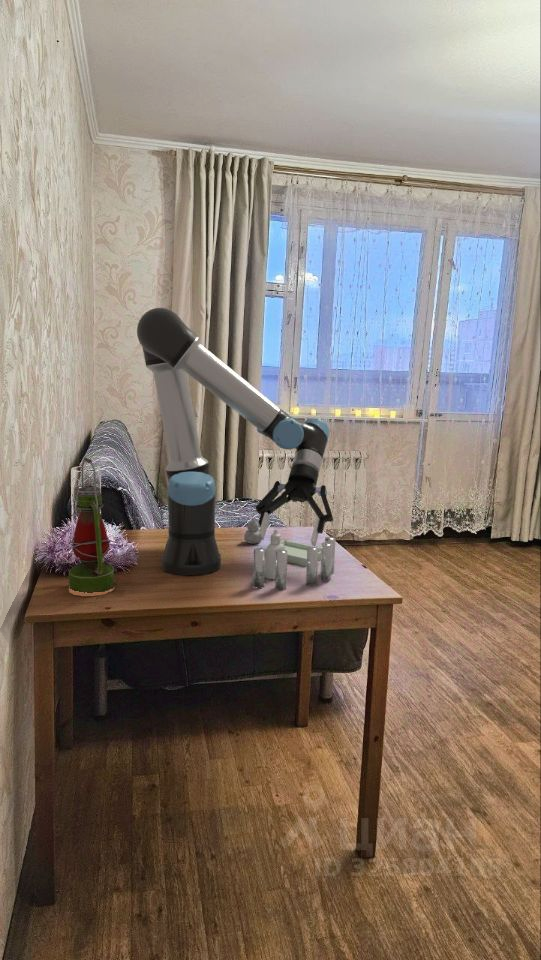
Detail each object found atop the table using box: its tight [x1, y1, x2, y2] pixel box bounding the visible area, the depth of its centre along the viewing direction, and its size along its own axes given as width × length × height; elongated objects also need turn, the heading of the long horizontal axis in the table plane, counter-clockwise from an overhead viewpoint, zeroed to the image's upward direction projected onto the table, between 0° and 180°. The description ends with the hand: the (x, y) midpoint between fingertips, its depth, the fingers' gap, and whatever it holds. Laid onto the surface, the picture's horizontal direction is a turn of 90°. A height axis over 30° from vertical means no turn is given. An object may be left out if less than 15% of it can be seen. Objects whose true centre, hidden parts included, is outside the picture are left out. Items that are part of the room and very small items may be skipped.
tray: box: [263, 539, 322, 567], centre depth 172 cm, size 14×11×2 cm
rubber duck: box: [243, 516, 262, 545], centre depth 183 cm, size 5×7×8 cm
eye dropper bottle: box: [264, 528, 285, 580], centre depth 155 cm, size 4×6×12 cm
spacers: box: [252, 536, 336, 591], centre depth 151 cm, size 7×23×9 cm, turn 122°
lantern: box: [68, 457, 116, 593], centre depth 142 cm, size 14×11×30 cm
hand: (286, 540), depth 157 cm, fingers open, 13 cm apart
